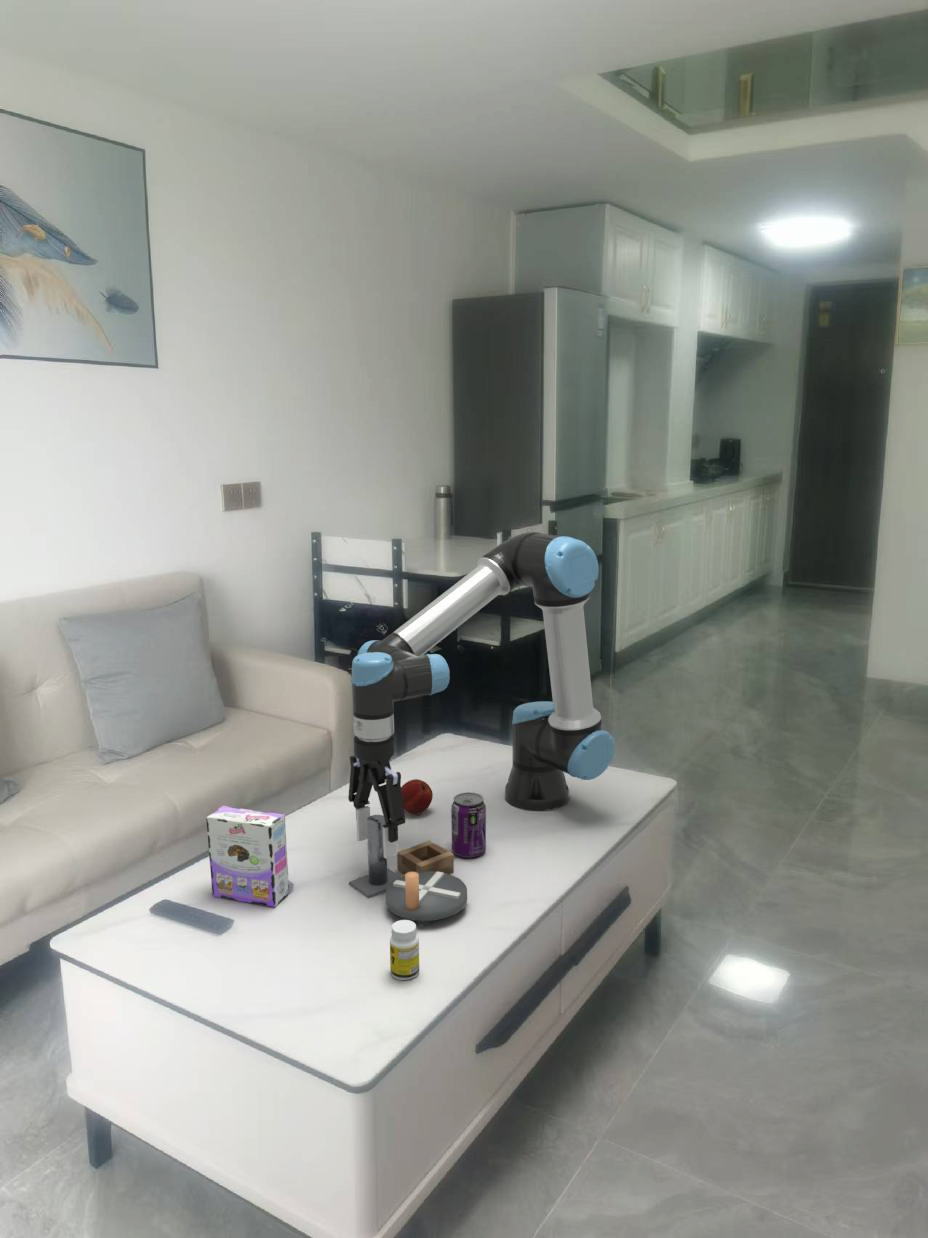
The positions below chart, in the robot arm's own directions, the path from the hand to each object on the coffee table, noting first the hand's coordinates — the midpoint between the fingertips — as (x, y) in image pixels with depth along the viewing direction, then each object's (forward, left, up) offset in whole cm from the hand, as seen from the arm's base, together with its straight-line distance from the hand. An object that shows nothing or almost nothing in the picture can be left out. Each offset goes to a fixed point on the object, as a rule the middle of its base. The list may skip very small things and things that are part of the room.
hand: (377, 847), depth 178 cm
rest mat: (0, 0, -8) cm, 8 cm away
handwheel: (-2, +13, -6) cm, 14 cm away
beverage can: (-22, +1, -8) cm, 23 cm away
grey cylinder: (0, 0, -7) cm, 7 cm away
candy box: (+21, -12, -8) cm, 25 cm away
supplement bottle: (+13, +27, -8) cm, 31 cm away
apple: (-25, -22, -8) cm, 34 cm away
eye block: (-10, +2, -8) cm, 13 cm away
